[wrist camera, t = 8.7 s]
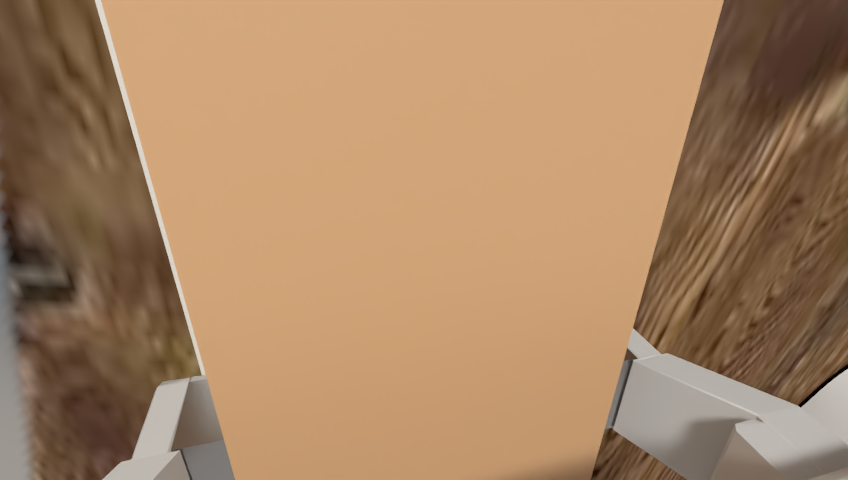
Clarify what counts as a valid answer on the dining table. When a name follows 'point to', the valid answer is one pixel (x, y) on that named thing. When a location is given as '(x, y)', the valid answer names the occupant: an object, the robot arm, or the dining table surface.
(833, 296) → the dining table surface
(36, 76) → the dining table surface
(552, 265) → the bench model
